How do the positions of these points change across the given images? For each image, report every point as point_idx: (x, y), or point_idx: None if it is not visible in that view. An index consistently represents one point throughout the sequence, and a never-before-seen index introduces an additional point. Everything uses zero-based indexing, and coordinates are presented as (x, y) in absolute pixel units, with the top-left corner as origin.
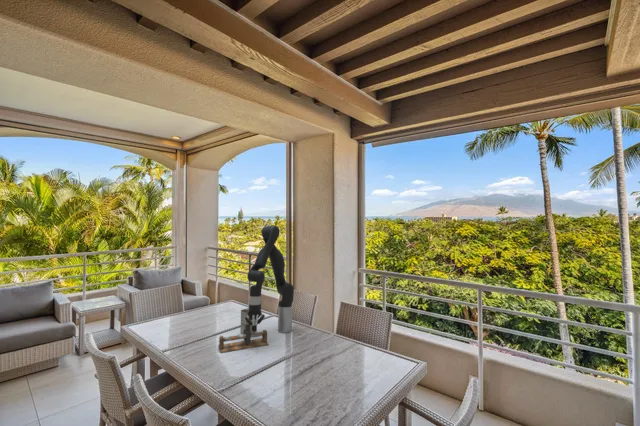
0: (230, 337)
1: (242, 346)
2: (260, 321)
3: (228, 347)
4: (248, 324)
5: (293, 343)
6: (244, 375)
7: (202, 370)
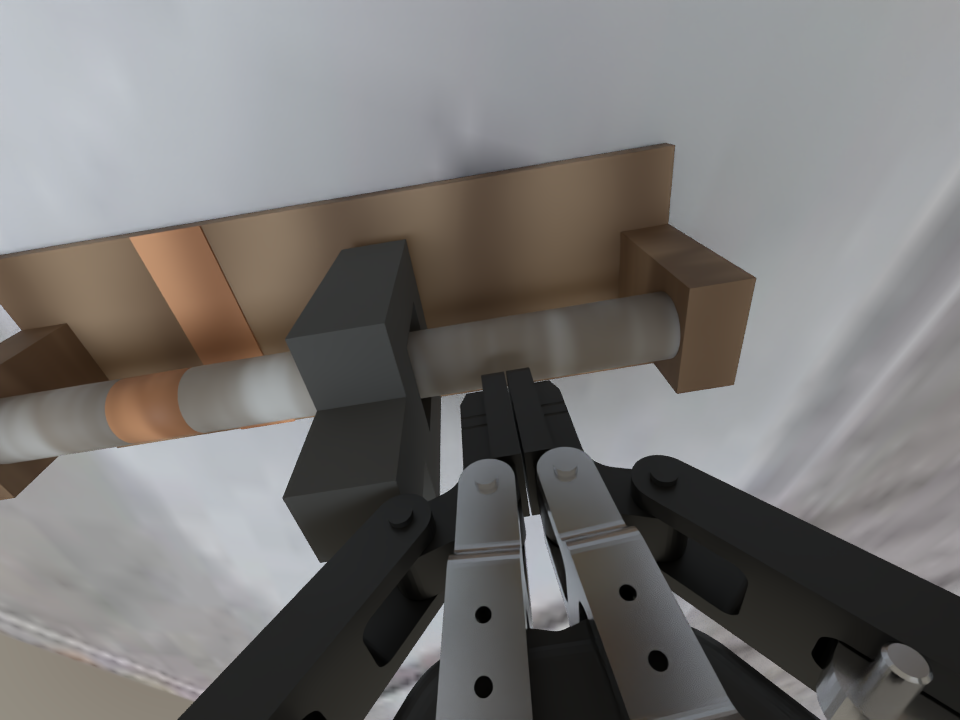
0: (107, 445)
1: None
2: (710, 580)
3: (168, 366)
4: (371, 482)
5: (913, 364)
6: (400, 666)
7: (115, 621)
